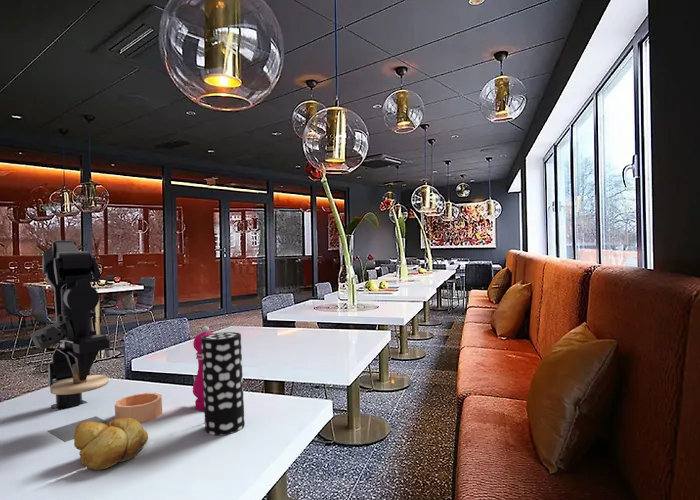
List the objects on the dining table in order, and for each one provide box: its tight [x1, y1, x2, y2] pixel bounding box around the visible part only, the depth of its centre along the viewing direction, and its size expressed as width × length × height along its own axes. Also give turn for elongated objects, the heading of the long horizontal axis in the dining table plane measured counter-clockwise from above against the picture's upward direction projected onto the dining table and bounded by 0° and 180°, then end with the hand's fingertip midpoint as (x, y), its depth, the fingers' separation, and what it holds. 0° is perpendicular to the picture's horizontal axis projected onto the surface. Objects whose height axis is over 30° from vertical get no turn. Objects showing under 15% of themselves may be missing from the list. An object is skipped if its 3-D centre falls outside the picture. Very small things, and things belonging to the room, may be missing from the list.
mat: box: [47, 415, 110, 443], centre depth 99 cm, size 10×10×1 cm
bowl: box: [114, 392, 163, 424], centre depth 105 cm, size 10×10×4 cm
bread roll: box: [73, 418, 149, 471], centre depth 85 cm, size 13×10×8 cm
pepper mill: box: [192, 325, 215, 411], centre depth 112 cm, size 7×7×20 cm
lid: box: [49, 364, 109, 396], centre depth 99 cm, size 11×11×5 cm
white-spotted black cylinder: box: [201, 331, 246, 436], centre depth 98 cm, size 8×8×20 cm
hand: (79, 379), depth 99 cm, fingers closed on lid, 3 cm apart
